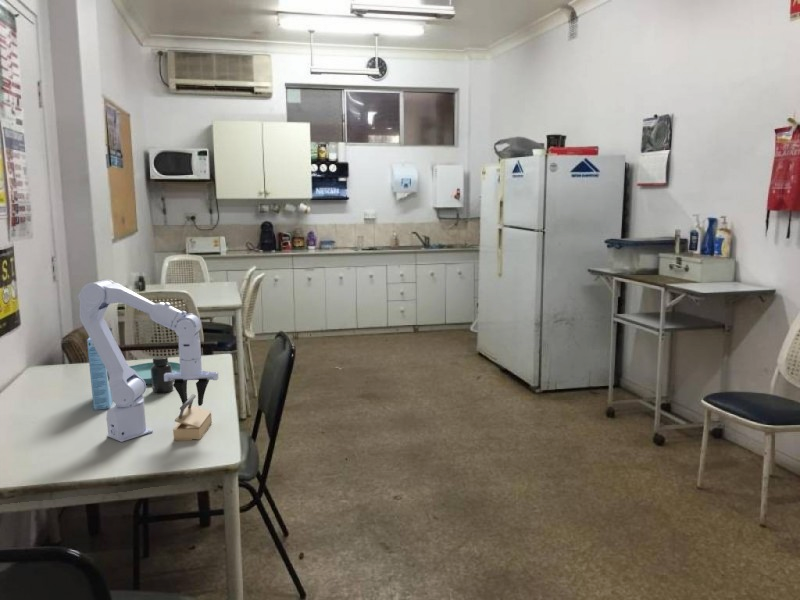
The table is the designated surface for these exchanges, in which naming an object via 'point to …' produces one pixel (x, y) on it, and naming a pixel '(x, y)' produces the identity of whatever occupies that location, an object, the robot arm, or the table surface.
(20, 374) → the table surface
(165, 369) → the supplement bottle
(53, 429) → the table surface
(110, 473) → the table surface
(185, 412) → the lid
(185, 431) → the carton
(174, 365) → the saucer
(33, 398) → the table surface
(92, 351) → the gum box
